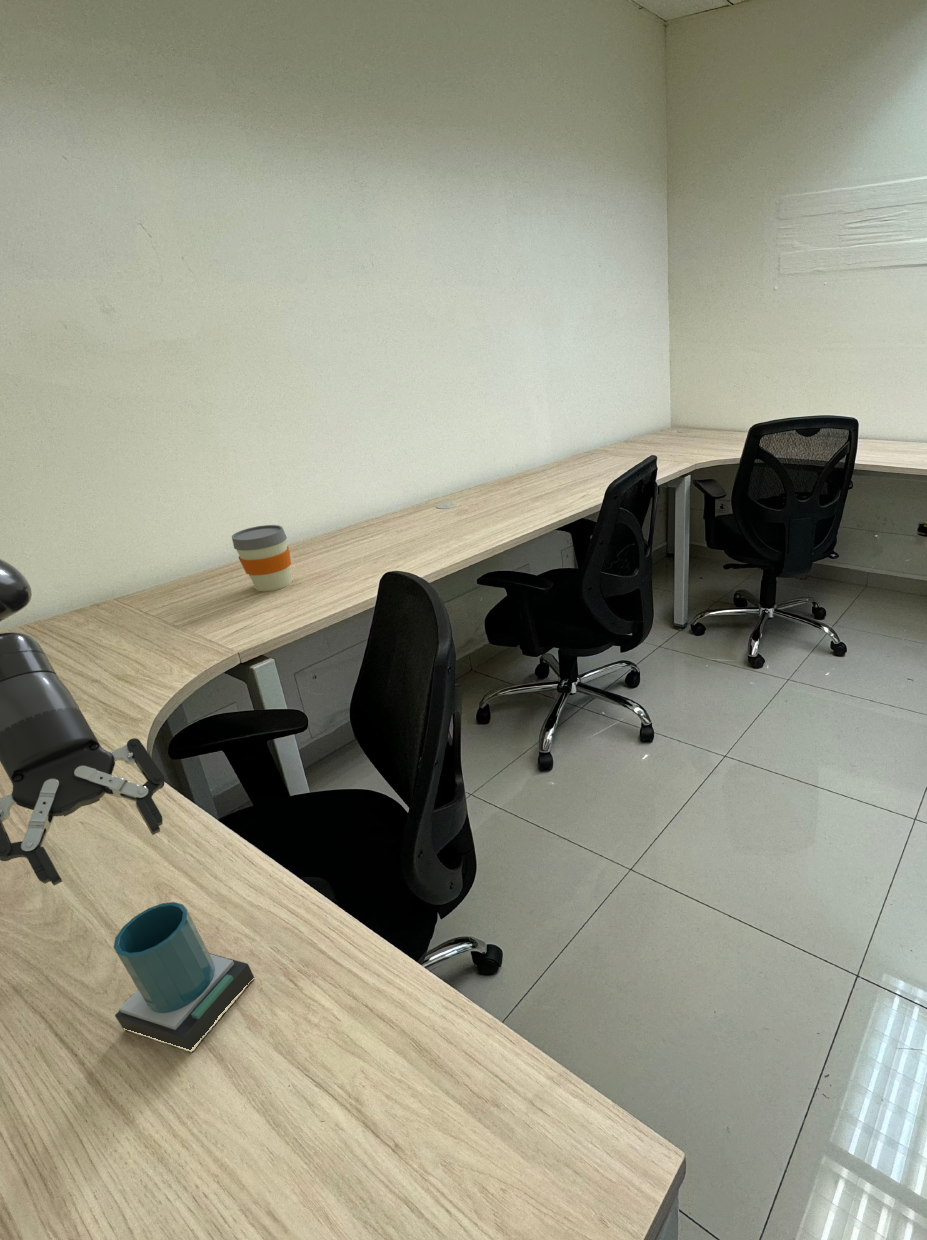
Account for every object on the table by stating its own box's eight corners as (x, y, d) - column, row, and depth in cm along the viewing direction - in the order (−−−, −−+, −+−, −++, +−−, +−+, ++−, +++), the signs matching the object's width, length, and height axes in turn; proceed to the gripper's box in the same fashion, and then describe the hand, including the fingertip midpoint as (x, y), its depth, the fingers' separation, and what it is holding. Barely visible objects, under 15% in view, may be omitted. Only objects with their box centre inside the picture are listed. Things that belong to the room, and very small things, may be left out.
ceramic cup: (133, 1005, 65) (98, 948, 61) (185, 952, 70) (156, 897, 66) (178, 1019, 63) (146, 962, 60) (228, 964, 68) (201, 908, 65)
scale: (123, 1030, 66) (111, 1011, 64) (191, 960, 73) (181, 941, 71) (192, 1053, 63) (180, 1034, 62) (255, 978, 70) (246, 959, 69)
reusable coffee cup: (237, 592, 171) (218, 538, 165) (274, 574, 182) (258, 523, 176) (274, 596, 168) (256, 541, 161) (309, 577, 178) (294, 525, 172)
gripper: (-66, 747, 61) (14, 896, 59) (114, 683, 70) (186, 808, 69) (-47, 770, 66) (26, 907, 64) (117, 707, 76) (185, 824, 74)
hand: (109, 856), depth 66 cm, fingers open, 8 cm apart
